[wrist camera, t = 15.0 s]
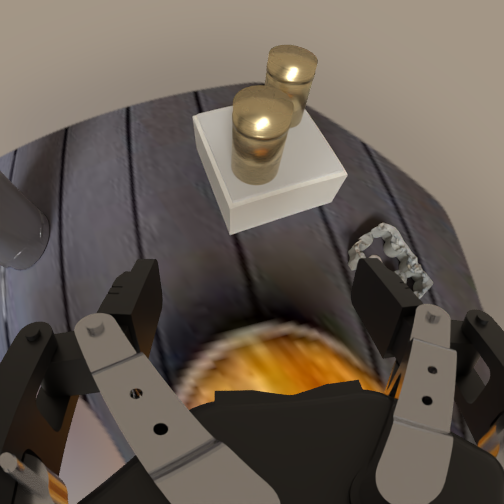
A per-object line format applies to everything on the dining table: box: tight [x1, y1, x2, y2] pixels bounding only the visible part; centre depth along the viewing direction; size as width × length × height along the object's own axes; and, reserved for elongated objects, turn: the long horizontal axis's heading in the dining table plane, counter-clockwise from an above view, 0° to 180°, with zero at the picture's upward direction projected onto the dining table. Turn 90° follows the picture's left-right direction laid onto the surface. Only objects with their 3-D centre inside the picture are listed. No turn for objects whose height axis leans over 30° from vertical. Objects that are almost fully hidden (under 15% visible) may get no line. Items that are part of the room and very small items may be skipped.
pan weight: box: [265, 45, 318, 128], centre depth 30 cm, size 5×5×9 cm
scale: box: [193, 106, 348, 235], centre depth 36 cm, size 14×15×7 cm
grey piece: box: [348, 223, 433, 299], centre depth 34 cm, size 11×8×4 cm
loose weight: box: [231, 85, 294, 185], centre depth 27 cm, size 5×5×9 cm
